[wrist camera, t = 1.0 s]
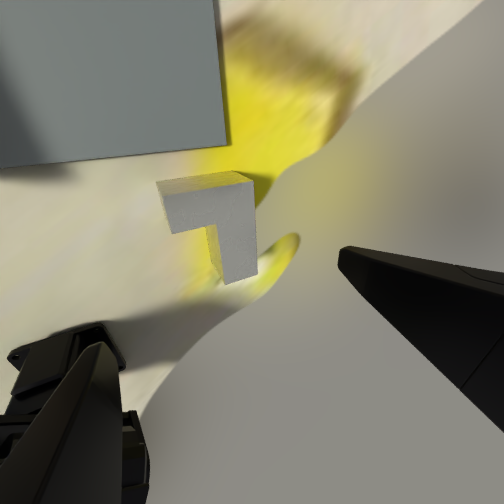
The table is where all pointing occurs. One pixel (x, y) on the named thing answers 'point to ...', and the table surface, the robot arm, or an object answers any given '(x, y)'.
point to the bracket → (216, 218)
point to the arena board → (107, 79)
